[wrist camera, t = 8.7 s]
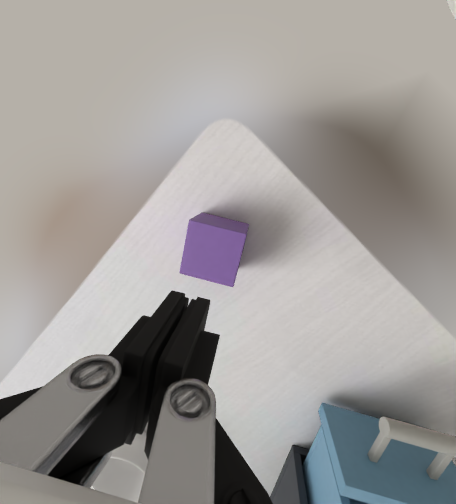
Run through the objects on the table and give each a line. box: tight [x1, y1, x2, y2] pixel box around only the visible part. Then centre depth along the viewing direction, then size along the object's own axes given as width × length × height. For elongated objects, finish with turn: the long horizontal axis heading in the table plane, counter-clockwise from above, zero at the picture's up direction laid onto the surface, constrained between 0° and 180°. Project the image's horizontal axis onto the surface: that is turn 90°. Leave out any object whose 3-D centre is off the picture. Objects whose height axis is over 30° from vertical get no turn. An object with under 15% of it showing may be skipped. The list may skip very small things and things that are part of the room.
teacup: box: [92, 423, 148, 503], centre depth 29 cm, size 10×10×5 cm
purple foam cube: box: [180, 213, 249, 287], centre depth 21 cm, size 4×4×4 cm
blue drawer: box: [302, 403, 456, 504], centre depth 23 cm, size 18×11×7 cm, turn 167°
